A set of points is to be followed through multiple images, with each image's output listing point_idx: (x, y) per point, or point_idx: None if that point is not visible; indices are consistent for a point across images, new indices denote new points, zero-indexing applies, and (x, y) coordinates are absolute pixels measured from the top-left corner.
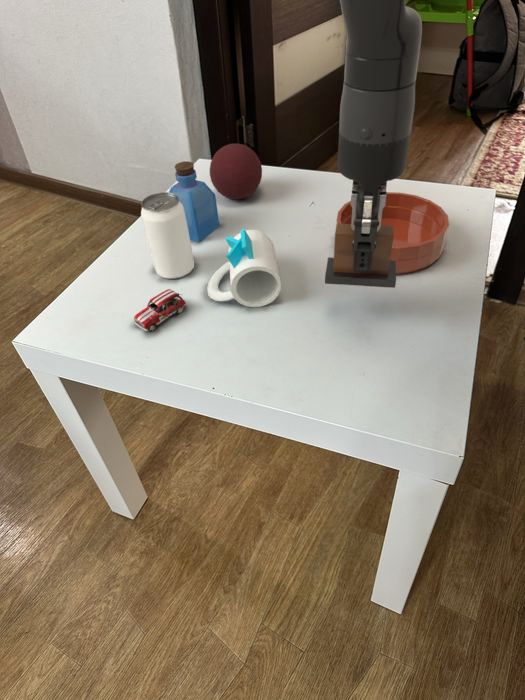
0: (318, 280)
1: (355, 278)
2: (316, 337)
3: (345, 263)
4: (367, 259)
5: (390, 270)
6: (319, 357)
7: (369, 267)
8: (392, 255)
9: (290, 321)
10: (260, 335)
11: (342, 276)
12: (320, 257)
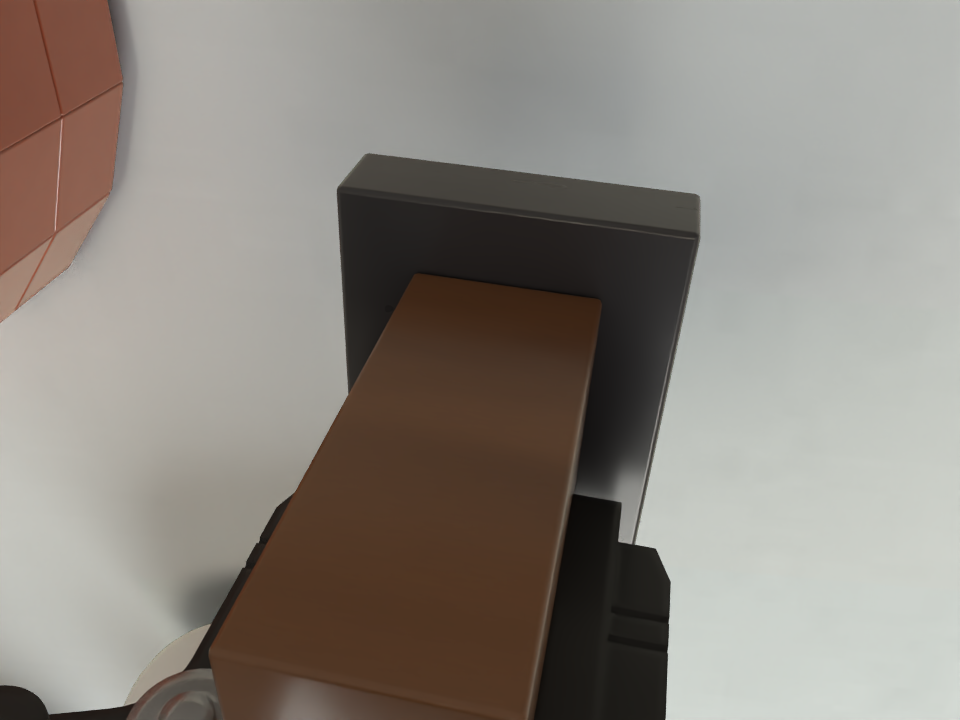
0: (276, 413)
1: (635, 538)
2: (769, 464)
3: None
4: (665, 677)
5: (519, 266)
6: (942, 466)
7: (616, 533)
8: (10, 40)
9: None
10: (724, 660)
11: None
12: (71, 387)
